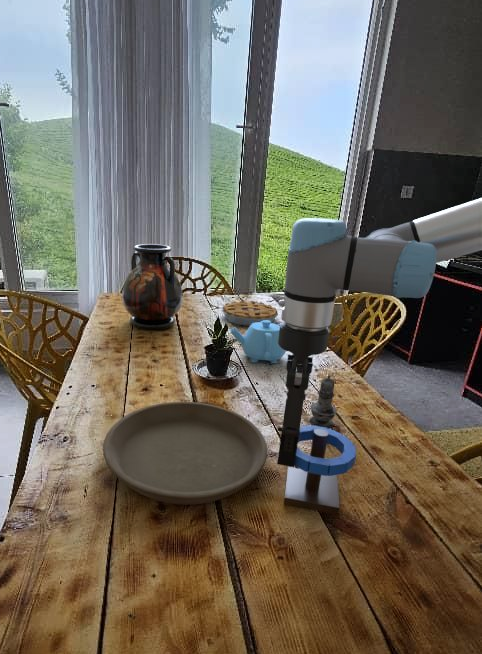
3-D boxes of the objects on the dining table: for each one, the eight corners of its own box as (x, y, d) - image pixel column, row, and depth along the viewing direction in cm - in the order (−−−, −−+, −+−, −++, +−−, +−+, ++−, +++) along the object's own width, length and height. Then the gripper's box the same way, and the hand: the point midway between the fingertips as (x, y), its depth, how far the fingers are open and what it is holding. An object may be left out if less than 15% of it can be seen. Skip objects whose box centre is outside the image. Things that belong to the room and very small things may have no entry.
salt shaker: (314, 413, 106) (321, 367, 101) (338, 421, 102) (346, 374, 98) (304, 423, 101) (311, 375, 97) (328, 432, 98) (337, 383, 93)
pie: (217, 310, 183) (218, 298, 181) (269, 310, 185) (270, 299, 184) (226, 327, 163) (227, 314, 161) (284, 327, 165) (285, 314, 163)
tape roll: (351, 441, 80) (353, 431, 79) (356, 481, 69) (358, 471, 68) (285, 430, 82) (286, 421, 81) (280, 467, 71) (281, 457, 71)
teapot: (288, 348, 145) (292, 314, 140) (298, 369, 129) (303, 331, 125) (227, 346, 145) (229, 311, 140) (229, 366, 129) (232, 328, 125)
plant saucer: (240, 539, 68) (242, 515, 66) (69, 486, 77) (67, 464, 76) (279, 437, 95) (281, 418, 93) (149, 407, 105) (149, 390, 103)
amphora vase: (110, 324, 160) (107, 245, 149) (149, 312, 177) (149, 240, 166) (156, 338, 149) (156, 254, 138) (193, 323, 165) (196, 247, 155)
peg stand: (336, 482, 82) (347, 423, 77) (338, 515, 74) (351, 451, 69) (286, 473, 84) (295, 415, 79) (283, 504, 76) (292, 442, 71)
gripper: (285, 303, 79) (271, 413, 87) (274, 344, 59) (258, 482, 67) (328, 307, 77) (310, 419, 86) (332, 352, 57) (308, 492, 66)
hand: (287, 447), depth 76 cm, fingers closed on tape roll, 9 cm apart
